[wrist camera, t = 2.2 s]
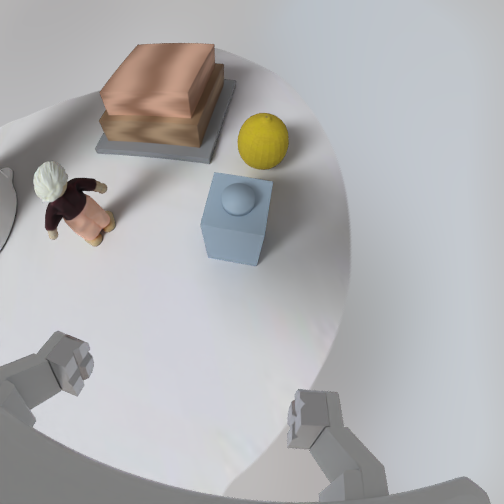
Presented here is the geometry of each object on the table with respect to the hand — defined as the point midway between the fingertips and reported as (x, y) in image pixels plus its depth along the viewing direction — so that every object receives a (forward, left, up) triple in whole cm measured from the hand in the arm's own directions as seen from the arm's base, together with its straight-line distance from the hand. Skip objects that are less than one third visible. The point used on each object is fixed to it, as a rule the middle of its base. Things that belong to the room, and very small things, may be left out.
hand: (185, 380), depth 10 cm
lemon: (+1, +23, -18) cm, 29 cm away
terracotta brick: (-13, +30, -18) cm, 37 cm away
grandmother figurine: (-16, +11, -18) cm, 26 cm away
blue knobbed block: (0, +13, -18) cm, 22 cm away
